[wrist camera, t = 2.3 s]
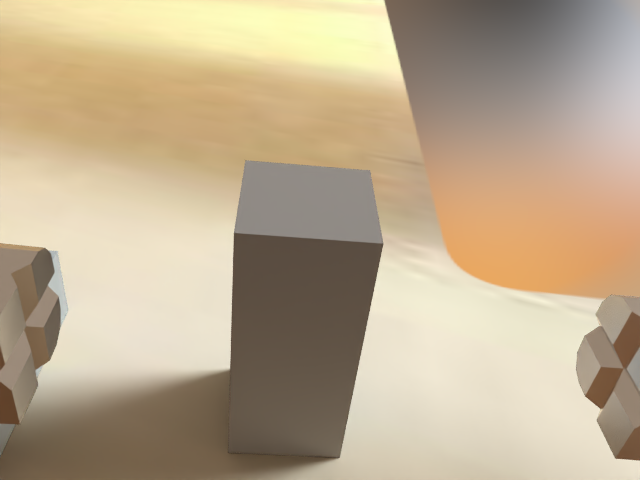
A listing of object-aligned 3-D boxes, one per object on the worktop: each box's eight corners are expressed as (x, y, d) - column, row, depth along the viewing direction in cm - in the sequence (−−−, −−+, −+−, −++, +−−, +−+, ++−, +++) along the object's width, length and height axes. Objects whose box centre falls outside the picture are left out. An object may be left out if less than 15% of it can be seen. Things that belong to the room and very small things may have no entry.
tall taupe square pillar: (334, 373, 32) (370, 170, 25) (339, 457, 27) (383, 243, 20) (237, 367, 31) (245, 160, 24) (227, 453, 27) (234, 233, 20)
